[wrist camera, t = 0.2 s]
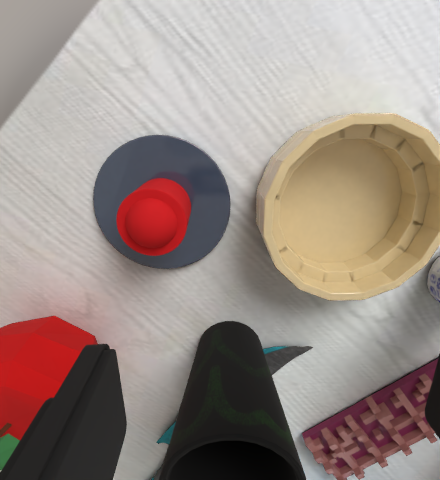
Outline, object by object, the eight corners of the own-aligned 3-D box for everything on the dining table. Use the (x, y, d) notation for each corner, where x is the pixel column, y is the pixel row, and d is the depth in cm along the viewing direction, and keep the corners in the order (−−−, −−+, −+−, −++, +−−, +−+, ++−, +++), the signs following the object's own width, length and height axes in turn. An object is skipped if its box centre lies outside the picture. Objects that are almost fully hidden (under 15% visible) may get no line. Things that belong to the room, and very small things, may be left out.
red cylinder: (130, 178, 22) (105, 192, 16) (190, 177, 22) (183, 191, 17) (136, 234, 23) (114, 264, 18) (192, 233, 23) (186, 263, 18)
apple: (-2, 389, 28) (-110, 518, 19) (-5, 288, 25) (-138, 384, 15) (114, 404, 29) (68, 534, 20) (126, 310, 26) (79, 412, 16)
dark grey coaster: (86, 135, 21) (83, 135, 21) (230, 134, 21) (230, 134, 21) (105, 267, 24) (102, 270, 24) (229, 265, 25) (230, 267, 24)
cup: (173, 364, 28) (135, 516, 16) (209, 296, 26) (195, 413, 14) (248, 396, 29) (263, 561, 17) (288, 332, 27) (336, 470, 15)
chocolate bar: (507, 384, 30) (527, 400, 28) (337, 471, 33) (345, 491, 31) (480, 335, 28) (499, 349, 26) (302, 433, 31) (307, 452, 29)
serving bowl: (257, 117, 21) (268, 113, 17) (431, 116, 21) (478, 112, 18) (252, 277, 25) (260, 302, 21) (398, 274, 25) (431, 298, 22)
